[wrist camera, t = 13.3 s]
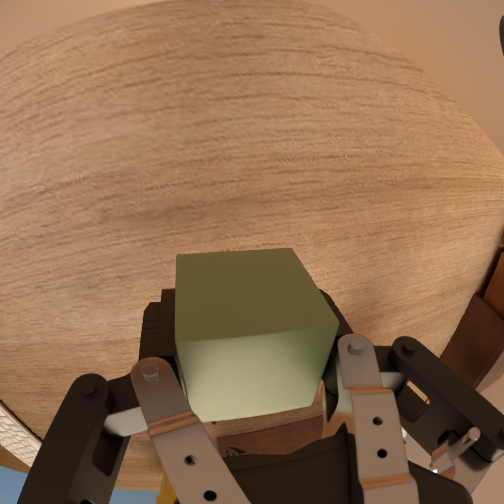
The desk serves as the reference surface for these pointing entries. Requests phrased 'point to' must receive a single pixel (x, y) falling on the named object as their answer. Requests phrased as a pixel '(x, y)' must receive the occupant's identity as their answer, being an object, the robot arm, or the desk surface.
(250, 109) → the desk surface
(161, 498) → the flower pot
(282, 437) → the tissue box cover
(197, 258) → the block
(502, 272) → the drawer
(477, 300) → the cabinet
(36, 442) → the keyboard
